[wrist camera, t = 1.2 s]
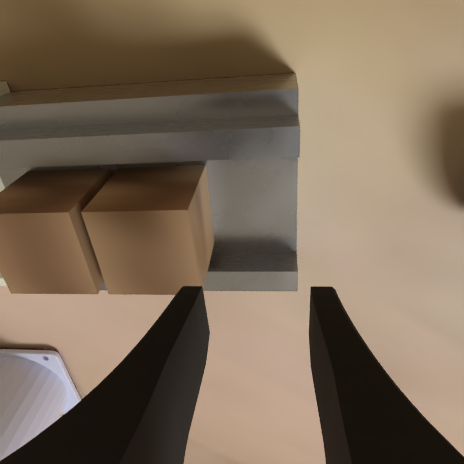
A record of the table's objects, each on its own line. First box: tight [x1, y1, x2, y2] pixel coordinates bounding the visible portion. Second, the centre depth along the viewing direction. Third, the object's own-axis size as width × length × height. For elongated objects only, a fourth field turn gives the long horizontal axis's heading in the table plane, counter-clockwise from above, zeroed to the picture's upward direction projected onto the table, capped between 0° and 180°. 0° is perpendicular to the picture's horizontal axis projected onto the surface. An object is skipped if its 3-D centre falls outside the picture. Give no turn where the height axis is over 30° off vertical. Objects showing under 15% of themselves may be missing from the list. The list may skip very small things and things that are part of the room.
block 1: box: [0, 168, 111, 294], centre depth 17 cm, size 4×4×4 cm
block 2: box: [81, 165, 215, 295], centre depth 17 cm, size 4×4×4 cm
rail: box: [0, 73, 300, 291], centre depth 19 cm, size 14×10×4 cm
